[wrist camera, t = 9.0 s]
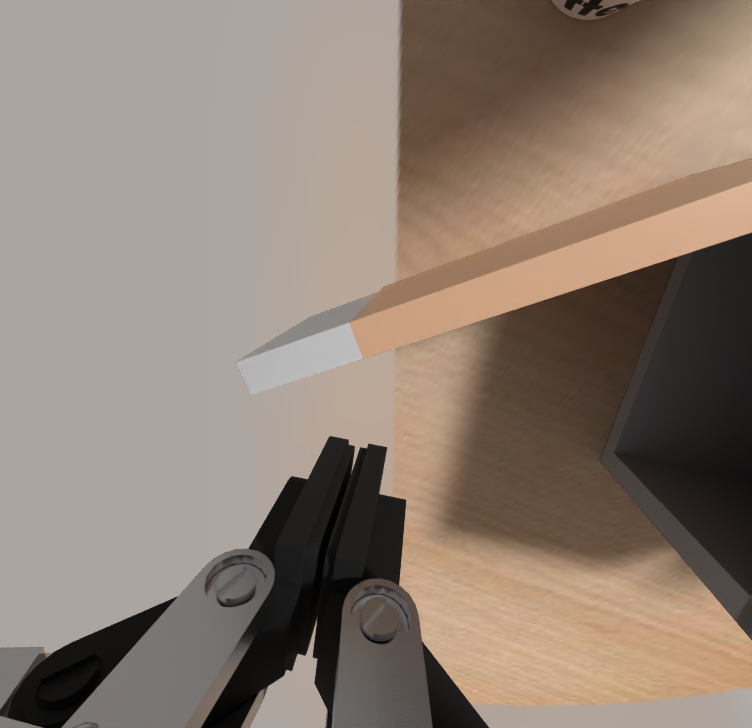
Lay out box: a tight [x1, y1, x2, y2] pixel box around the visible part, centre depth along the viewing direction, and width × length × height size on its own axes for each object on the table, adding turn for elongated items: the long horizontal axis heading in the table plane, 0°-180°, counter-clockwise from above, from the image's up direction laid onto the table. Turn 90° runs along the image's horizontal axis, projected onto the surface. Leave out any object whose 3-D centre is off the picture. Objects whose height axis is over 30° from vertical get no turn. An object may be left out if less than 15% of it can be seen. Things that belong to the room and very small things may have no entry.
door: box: [235, 159, 752, 395], centre depth 15 cm, size 21×1×11 cm, turn 110°
